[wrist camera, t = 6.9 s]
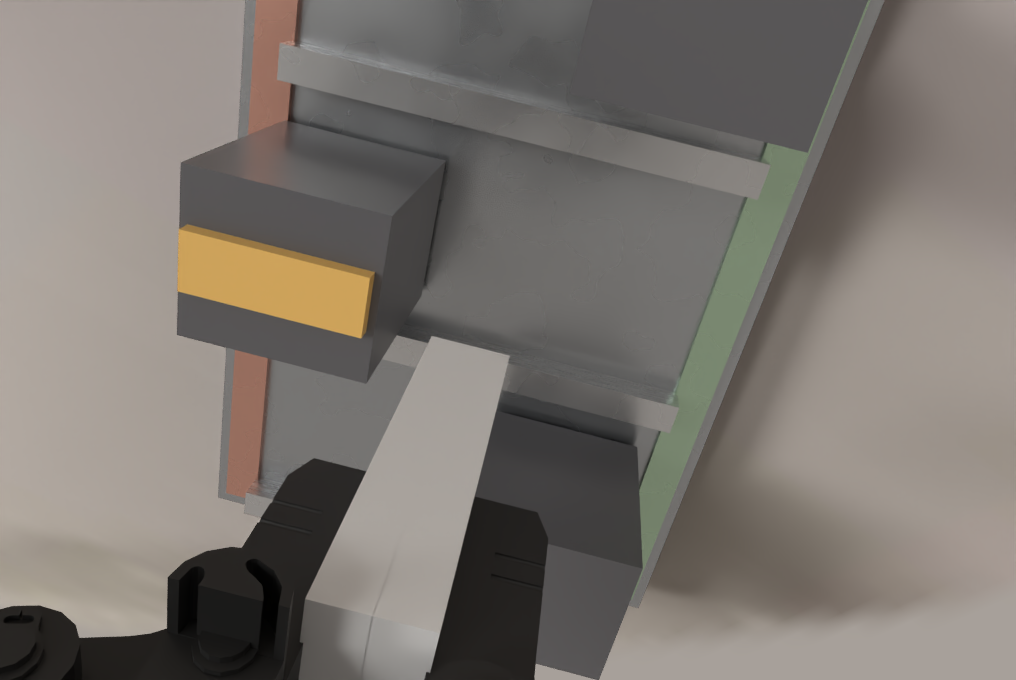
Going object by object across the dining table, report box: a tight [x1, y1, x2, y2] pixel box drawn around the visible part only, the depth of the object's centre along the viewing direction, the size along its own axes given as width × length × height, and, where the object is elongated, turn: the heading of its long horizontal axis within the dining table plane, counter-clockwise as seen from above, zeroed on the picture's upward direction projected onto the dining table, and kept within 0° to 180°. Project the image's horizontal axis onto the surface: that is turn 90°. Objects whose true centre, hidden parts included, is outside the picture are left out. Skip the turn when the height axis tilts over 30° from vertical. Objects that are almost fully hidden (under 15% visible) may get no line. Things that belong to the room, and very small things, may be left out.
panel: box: [218, 0, 885, 608], centre depth 24 cm, size 17×26×3 cm, turn 168°
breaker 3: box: [570, 0, 868, 153], centre depth 17 cm, size 5×4×6 cm
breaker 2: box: [475, 411, 643, 680], centre depth 24 cm, size 5×4×6 cm
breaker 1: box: [177, 120, 446, 384], centre depth 21 cm, size 5×4×6 cm
